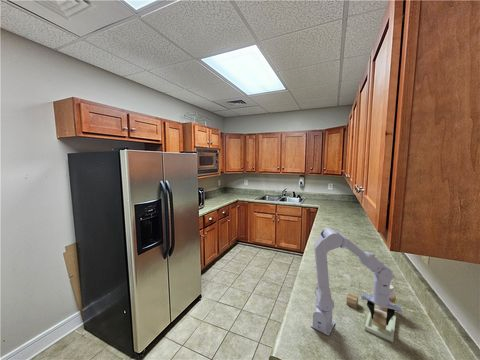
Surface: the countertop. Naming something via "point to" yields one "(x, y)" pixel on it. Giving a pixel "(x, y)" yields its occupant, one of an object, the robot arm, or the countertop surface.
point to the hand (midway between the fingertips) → (380, 320)
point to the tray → (377, 331)
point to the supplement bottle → (391, 298)
